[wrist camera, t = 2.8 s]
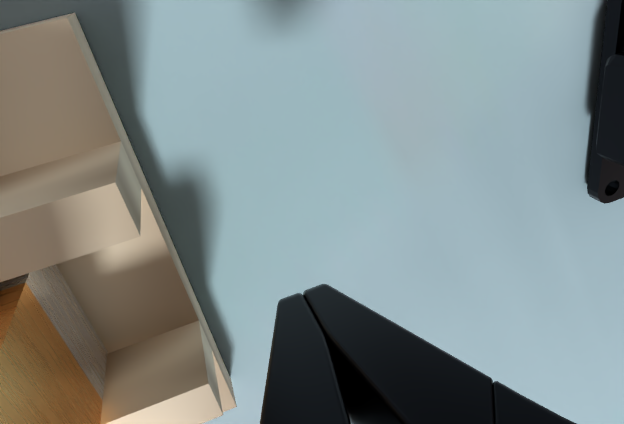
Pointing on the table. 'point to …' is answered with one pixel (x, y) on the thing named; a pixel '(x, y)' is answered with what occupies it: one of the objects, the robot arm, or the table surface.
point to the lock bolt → (48, 353)
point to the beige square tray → (99, 229)
